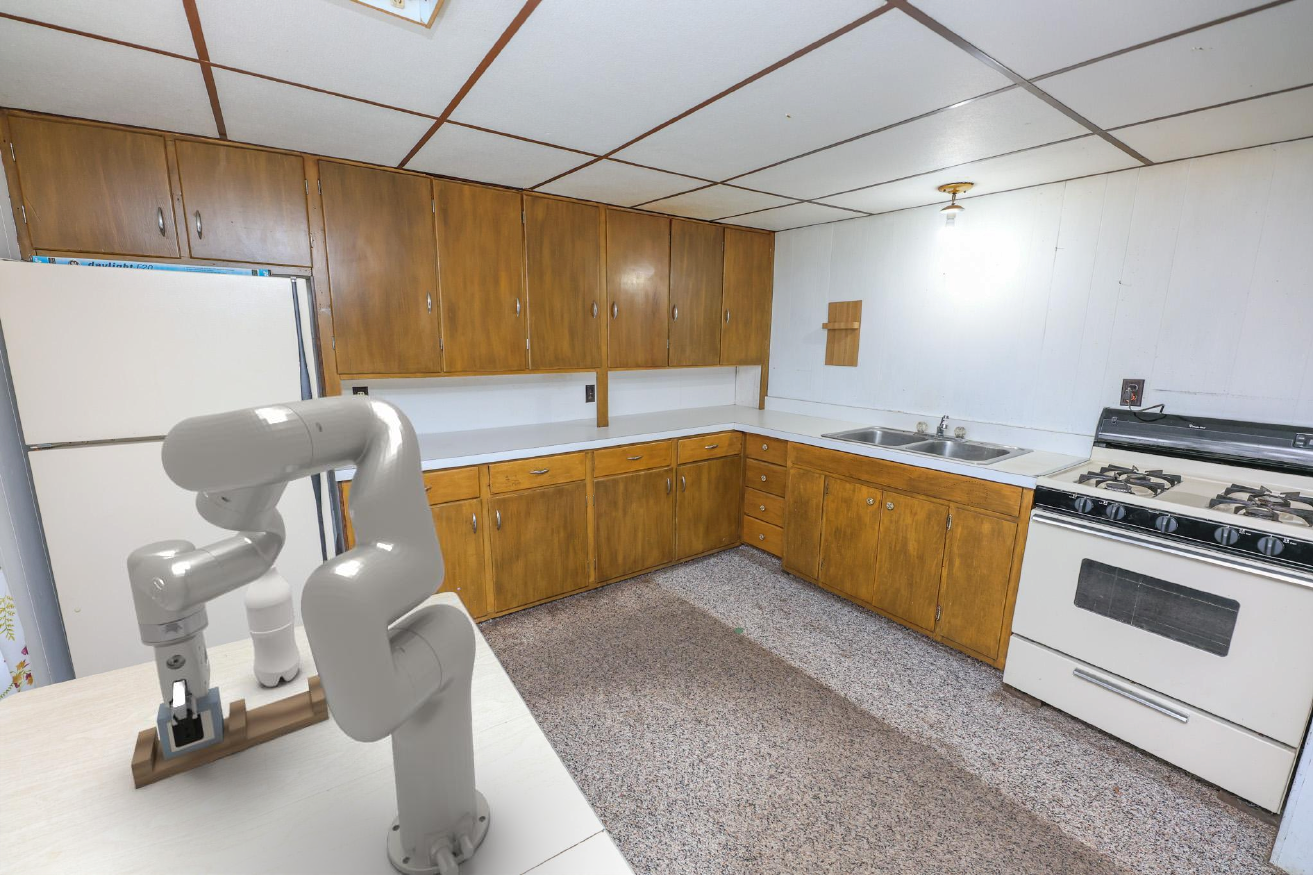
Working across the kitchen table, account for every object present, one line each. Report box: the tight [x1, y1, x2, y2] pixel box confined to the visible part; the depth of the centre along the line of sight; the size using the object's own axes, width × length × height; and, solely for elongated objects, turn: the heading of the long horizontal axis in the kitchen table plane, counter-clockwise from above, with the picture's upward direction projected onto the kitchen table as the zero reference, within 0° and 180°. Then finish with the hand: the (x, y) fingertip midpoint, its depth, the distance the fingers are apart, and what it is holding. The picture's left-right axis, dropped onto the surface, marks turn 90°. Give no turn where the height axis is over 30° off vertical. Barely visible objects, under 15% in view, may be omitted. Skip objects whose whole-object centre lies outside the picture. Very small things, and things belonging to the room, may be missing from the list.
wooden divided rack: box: [130, 674, 330, 789], centre depth 87 cm, size 8×24×4 cm, turn 128°
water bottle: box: [244, 562, 301, 687], centre depth 99 cm, size 7×7×25 cm
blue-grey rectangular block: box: [156, 686, 225, 761], centre depth 83 cm, size 4×7×7 cm, turn 128°
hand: (192, 723), depth 83 cm, fingers open, 9 cm apart
